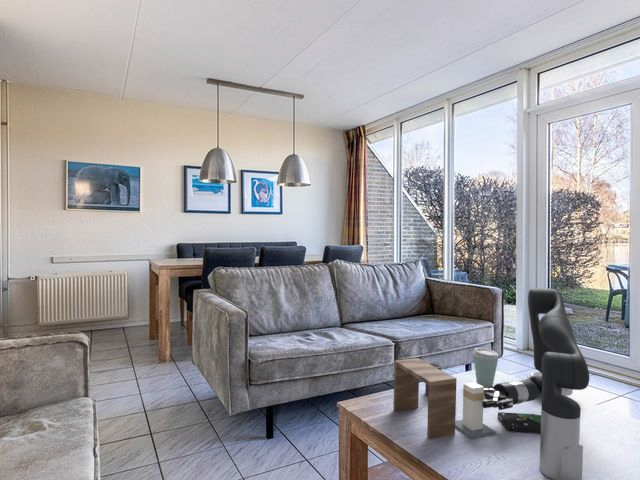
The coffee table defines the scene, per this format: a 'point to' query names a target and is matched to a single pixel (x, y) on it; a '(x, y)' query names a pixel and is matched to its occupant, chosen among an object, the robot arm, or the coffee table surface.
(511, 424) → the disk drive
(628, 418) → the coffee table surface
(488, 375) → the disposable coffee cup
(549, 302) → the robot arm
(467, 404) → the carton
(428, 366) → the shelf bay
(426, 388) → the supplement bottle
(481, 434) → the mat
